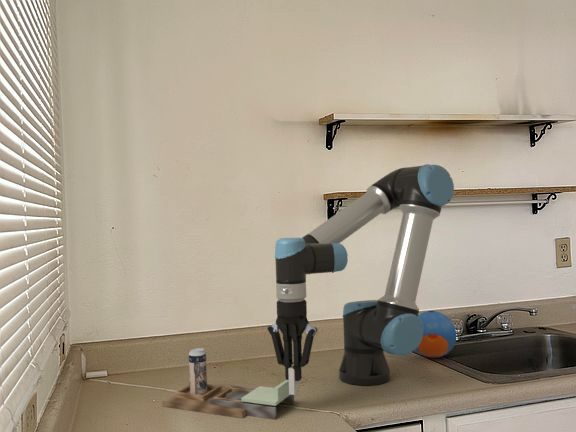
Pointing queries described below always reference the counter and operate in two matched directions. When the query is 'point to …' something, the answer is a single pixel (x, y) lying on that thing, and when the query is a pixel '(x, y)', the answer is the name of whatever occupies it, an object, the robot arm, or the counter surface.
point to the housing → (222, 402)
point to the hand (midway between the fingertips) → (293, 392)
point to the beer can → (197, 371)
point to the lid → (268, 394)
